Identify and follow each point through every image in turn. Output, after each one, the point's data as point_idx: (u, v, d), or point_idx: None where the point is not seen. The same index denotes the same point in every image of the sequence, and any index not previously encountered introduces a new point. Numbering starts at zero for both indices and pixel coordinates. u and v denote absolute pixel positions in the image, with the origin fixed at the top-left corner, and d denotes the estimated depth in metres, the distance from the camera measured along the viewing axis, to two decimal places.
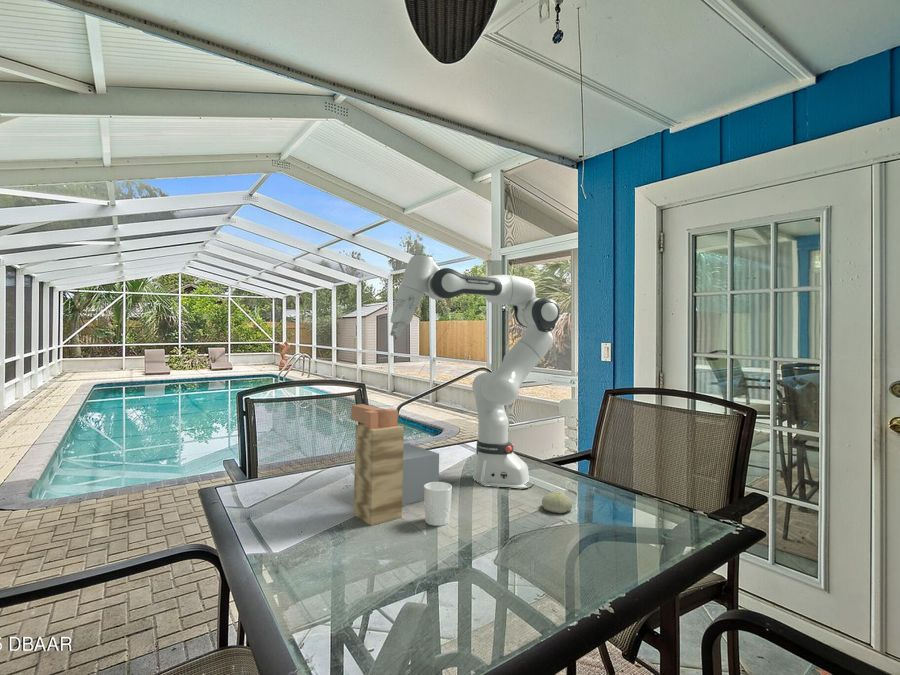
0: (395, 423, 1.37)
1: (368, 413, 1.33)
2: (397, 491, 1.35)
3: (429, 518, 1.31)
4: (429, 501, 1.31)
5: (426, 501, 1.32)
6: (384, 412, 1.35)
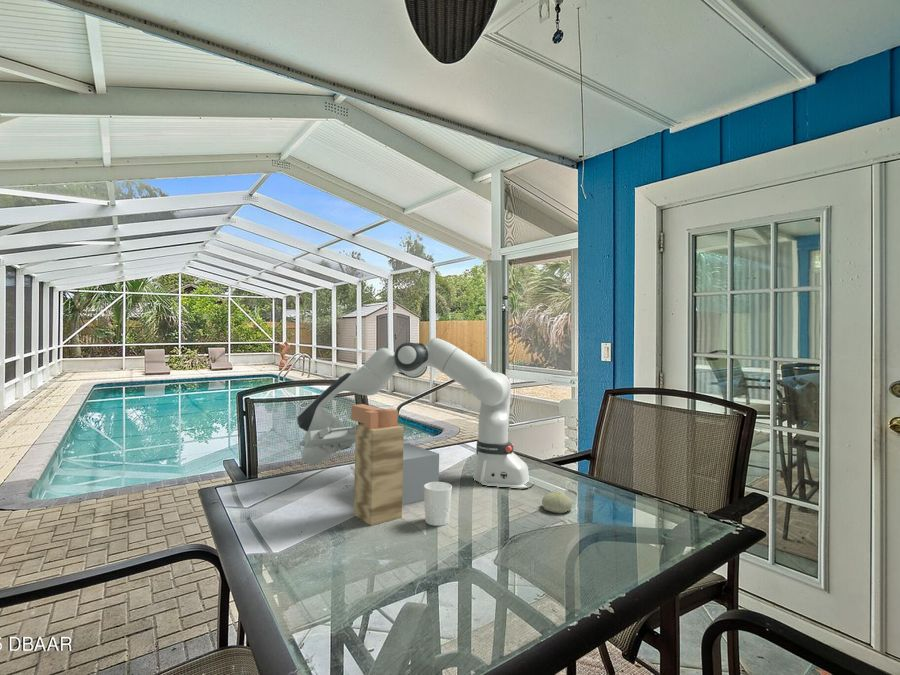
0: (395, 423, 1.37)
1: (368, 413, 1.33)
2: (397, 491, 1.35)
3: (429, 518, 1.31)
4: (429, 501, 1.31)
5: (426, 501, 1.32)
6: (384, 412, 1.35)
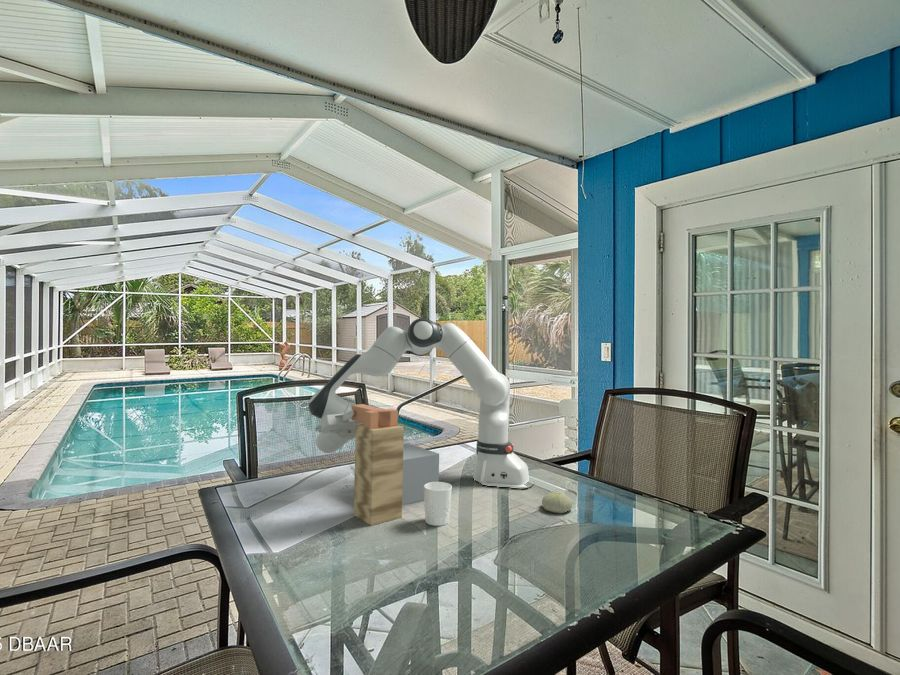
0: (395, 423, 1.37)
1: (368, 413, 1.33)
2: (397, 491, 1.35)
3: (429, 518, 1.31)
4: (429, 501, 1.31)
5: (426, 501, 1.32)
6: (384, 412, 1.35)
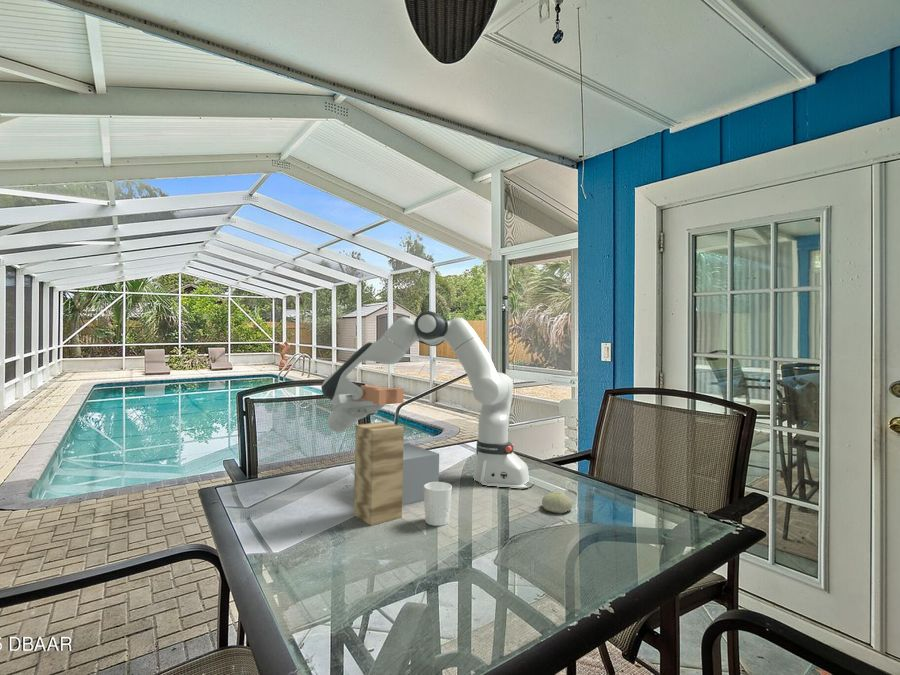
0: (401, 400, 1.51)
1: (377, 391, 1.47)
2: (397, 491, 1.35)
3: (429, 518, 1.31)
4: (429, 501, 1.31)
5: (426, 501, 1.32)
6: (391, 390, 1.48)
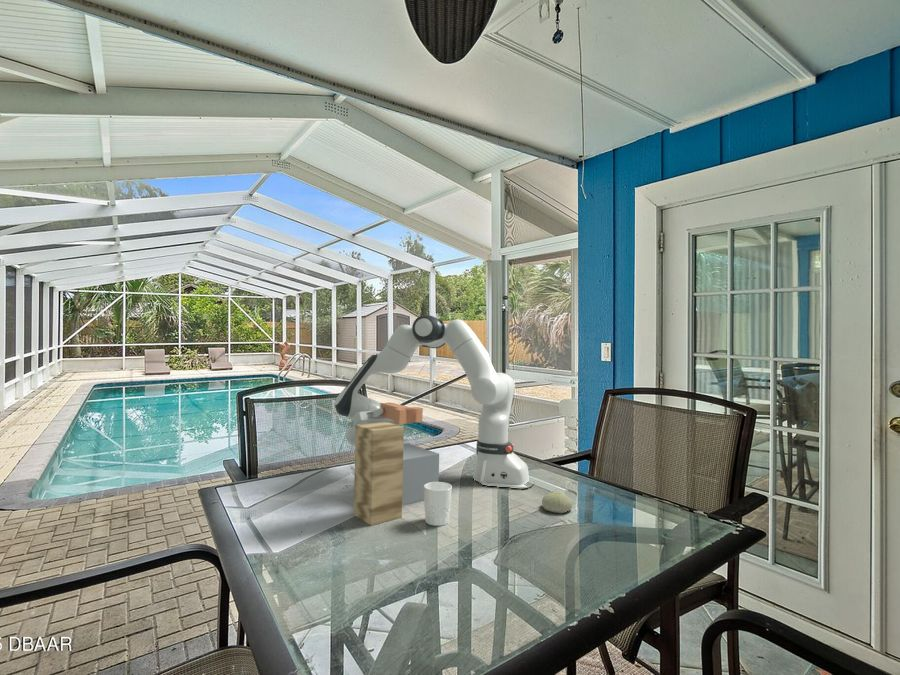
0: (420, 419, 1.56)
1: (397, 410, 1.52)
2: (397, 491, 1.35)
3: (429, 518, 1.31)
4: (429, 501, 1.31)
5: (426, 501, 1.32)
6: (411, 410, 1.54)
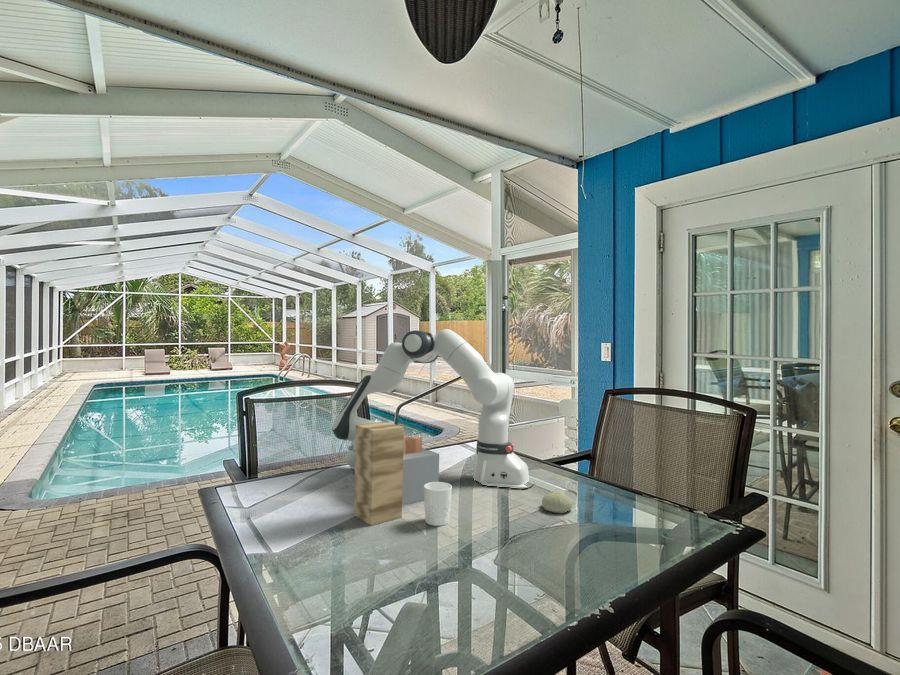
0: (420, 449, 1.56)
1: None
2: (397, 491, 1.35)
3: (429, 518, 1.31)
4: (429, 501, 1.31)
5: (426, 501, 1.32)
6: (410, 440, 1.54)
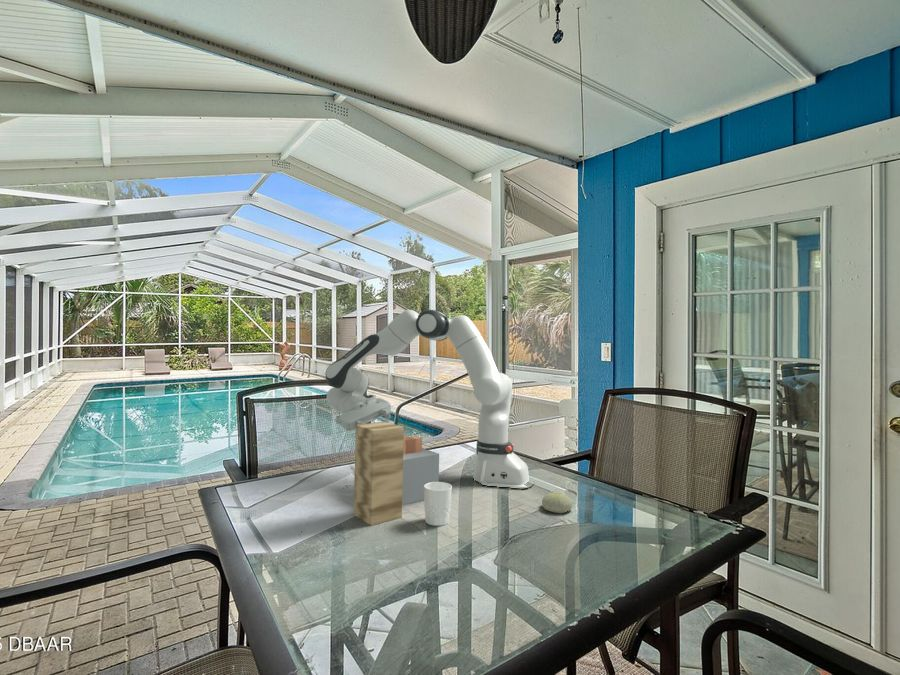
0: (420, 449, 1.56)
1: None
2: (397, 491, 1.35)
3: (429, 518, 1.31)
4: (429, 501, 1.31)
5: (426, 501, 1.32)
6: (410, 440, 1.54)
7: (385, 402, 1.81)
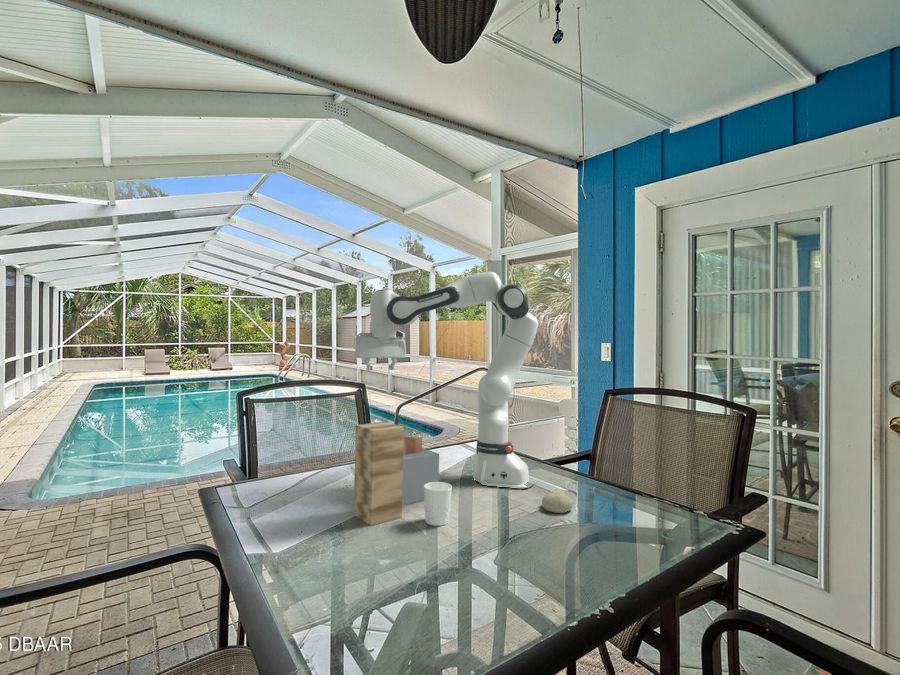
0: (420, 449, 1.56)
1: None
2: (397, 491, 1.35)
3: (429, 518, 1.31)
4: (429, 501, 1.31)
5: (426, 501, 1.32)
6: (410, 440, 1.54)
7: (403, 351, 1.81)
